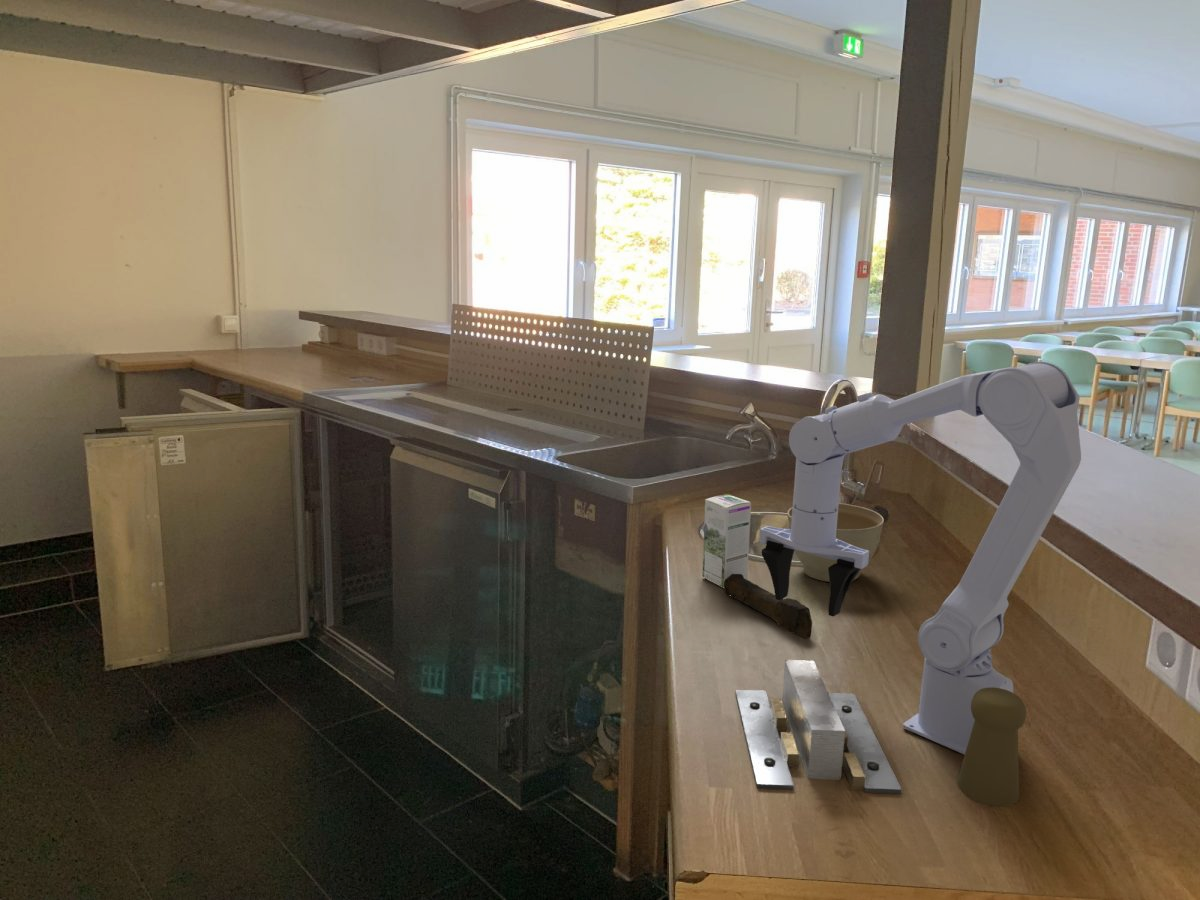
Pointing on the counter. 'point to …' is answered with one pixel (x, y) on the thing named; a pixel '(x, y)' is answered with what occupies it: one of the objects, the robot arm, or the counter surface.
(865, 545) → the planter bowl
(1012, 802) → the cork
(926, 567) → the counter surface
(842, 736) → the aluminum bar stock
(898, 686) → the counter surface
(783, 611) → the brown wooden log
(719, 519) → the syrup box
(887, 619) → the counter surface
